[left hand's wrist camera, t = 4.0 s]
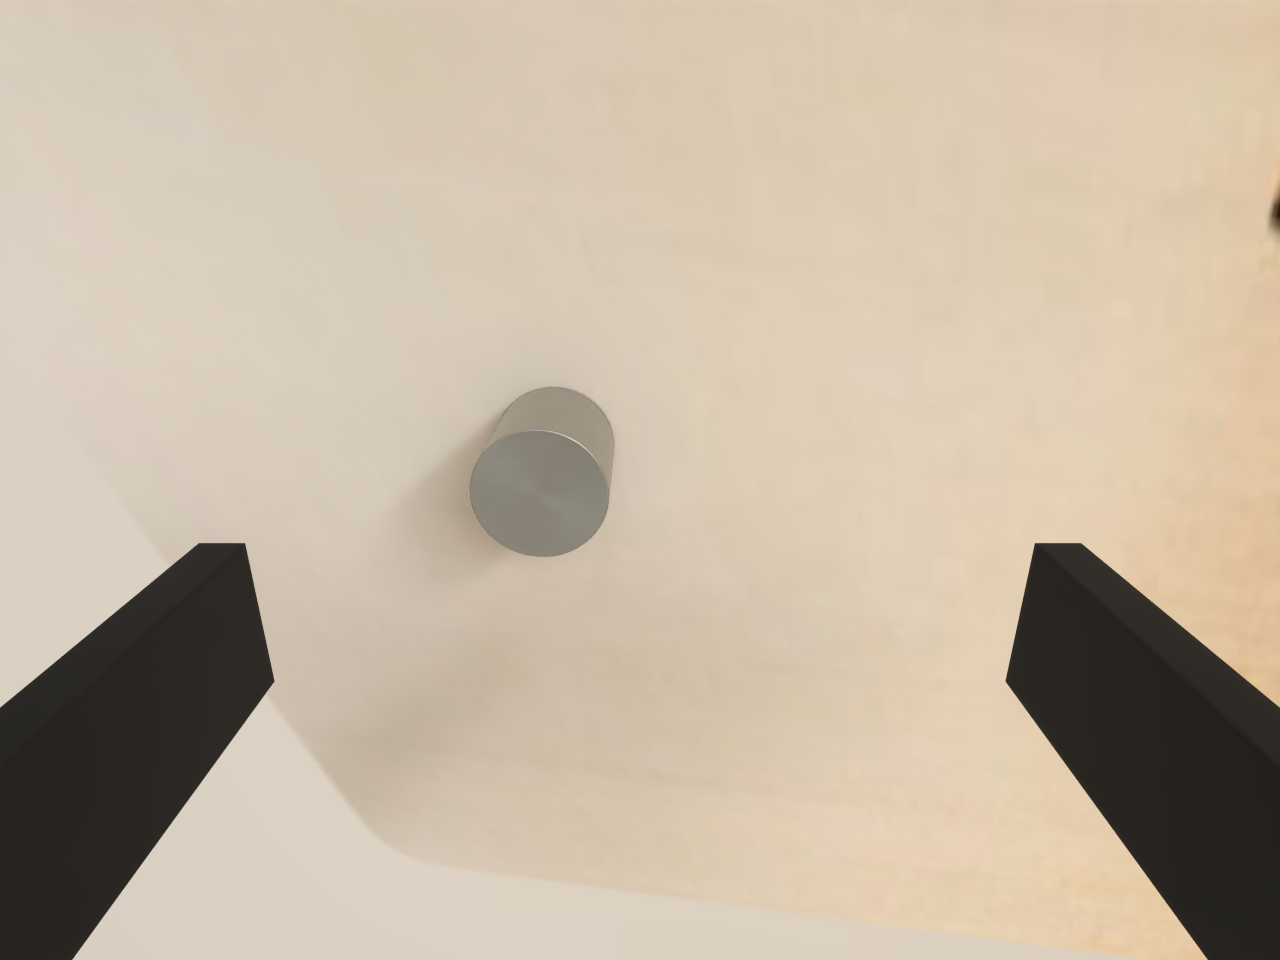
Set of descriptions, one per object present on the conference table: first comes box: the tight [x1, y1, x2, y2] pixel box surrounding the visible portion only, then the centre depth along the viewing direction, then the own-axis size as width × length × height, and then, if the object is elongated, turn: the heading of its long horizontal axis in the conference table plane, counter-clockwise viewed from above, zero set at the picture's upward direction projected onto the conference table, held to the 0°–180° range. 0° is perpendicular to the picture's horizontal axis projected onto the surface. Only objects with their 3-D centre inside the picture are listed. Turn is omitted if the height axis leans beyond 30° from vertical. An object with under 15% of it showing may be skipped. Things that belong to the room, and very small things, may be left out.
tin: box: [470, 387, 614, 557], centre depth 24 cm, size 4×4×5 cm
